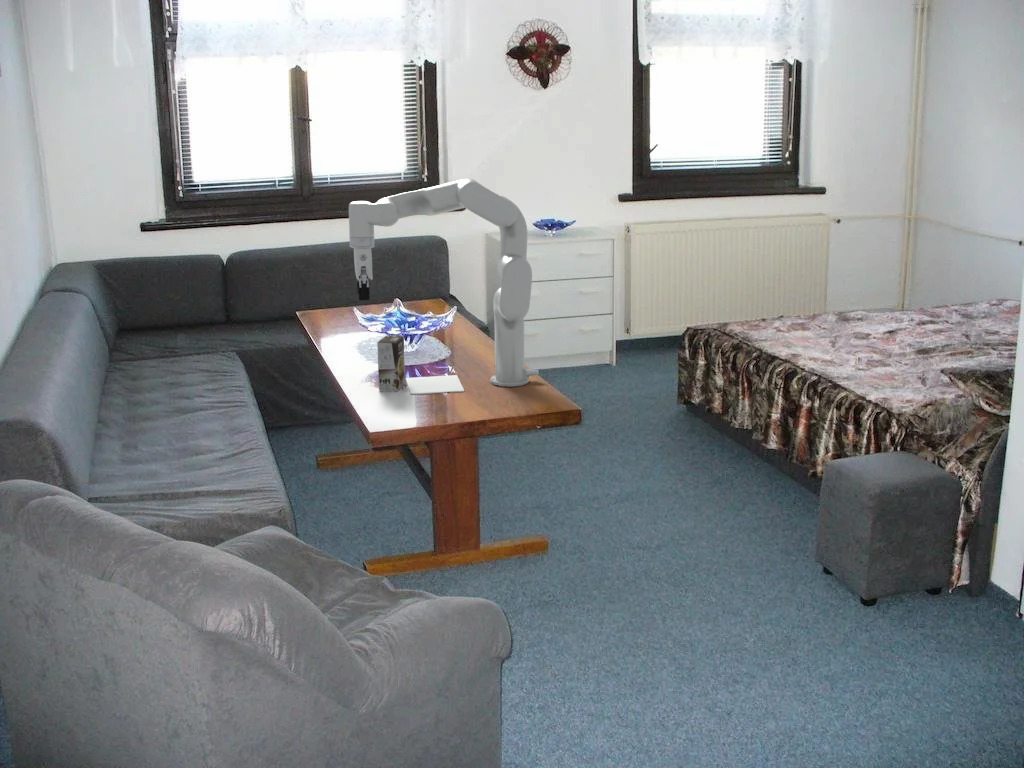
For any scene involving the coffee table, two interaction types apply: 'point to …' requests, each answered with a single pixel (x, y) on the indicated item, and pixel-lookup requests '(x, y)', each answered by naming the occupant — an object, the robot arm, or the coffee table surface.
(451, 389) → the flat white panel
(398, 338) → the coffee box
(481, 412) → the coffee table surface
